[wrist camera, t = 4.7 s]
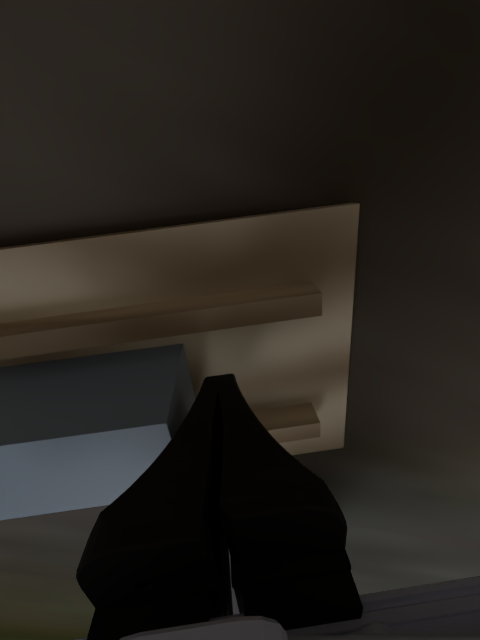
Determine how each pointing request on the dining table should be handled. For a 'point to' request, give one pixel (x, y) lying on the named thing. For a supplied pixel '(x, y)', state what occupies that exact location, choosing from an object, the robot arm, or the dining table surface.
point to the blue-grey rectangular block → (86, 426)
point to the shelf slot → (204, 308)
